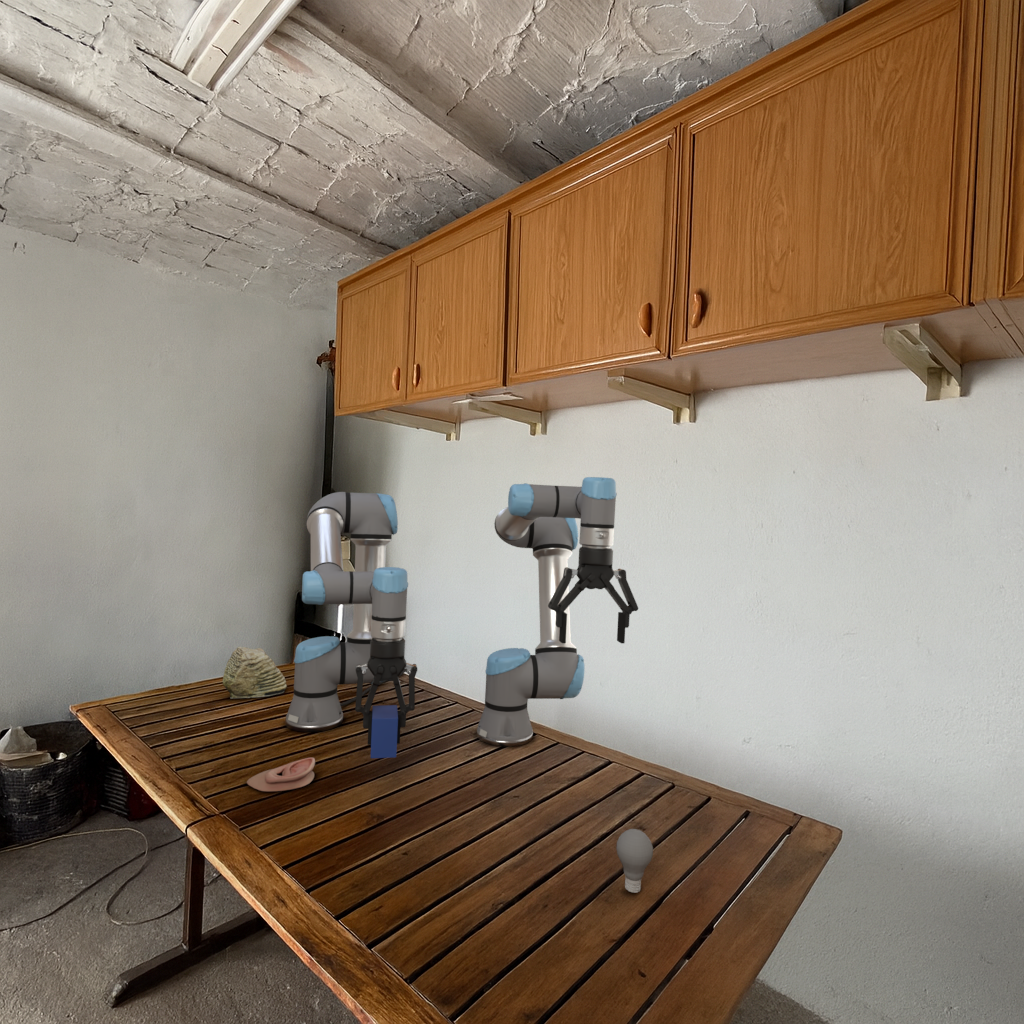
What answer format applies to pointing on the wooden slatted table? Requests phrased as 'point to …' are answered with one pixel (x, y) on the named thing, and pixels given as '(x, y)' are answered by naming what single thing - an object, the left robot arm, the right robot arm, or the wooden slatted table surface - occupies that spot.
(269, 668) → the fossil
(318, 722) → the left robot arm
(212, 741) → the wooden slatted table surface
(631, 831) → the light bulb
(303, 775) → the anatomical model
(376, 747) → the block
